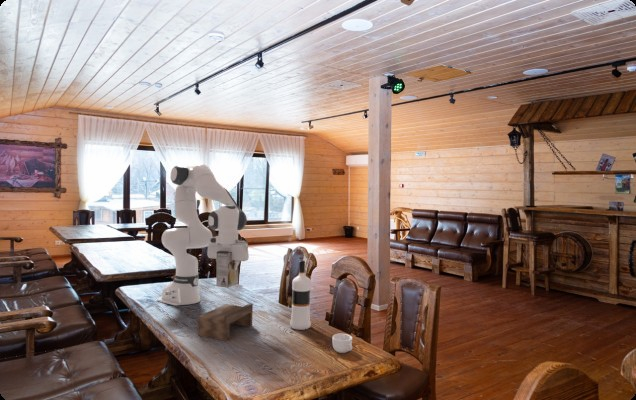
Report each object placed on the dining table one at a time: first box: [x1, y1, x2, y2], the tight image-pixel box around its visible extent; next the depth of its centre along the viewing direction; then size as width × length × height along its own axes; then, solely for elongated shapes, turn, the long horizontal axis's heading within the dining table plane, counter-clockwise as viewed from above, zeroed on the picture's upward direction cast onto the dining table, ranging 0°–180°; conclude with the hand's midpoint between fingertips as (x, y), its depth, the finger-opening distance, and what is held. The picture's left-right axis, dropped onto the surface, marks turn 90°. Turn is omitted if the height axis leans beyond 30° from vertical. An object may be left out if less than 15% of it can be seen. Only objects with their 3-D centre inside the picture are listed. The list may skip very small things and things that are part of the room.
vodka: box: [289, 260, 312, 331], centre depth 188 cm, size 9×9×30 cm
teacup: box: [331, 333, 353, 354], centre depth 162 cm, size 10×8×5 cm
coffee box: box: [215, 251, 239, 289], centre depth 194 cm, size 9×6×16 cm
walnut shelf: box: [197, 303, 254, 342], centre depth 181 cm, size 14×20×10 cm
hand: (227, 269), depth 194 cm, fingers closed on coffee box, 6 cm apart
